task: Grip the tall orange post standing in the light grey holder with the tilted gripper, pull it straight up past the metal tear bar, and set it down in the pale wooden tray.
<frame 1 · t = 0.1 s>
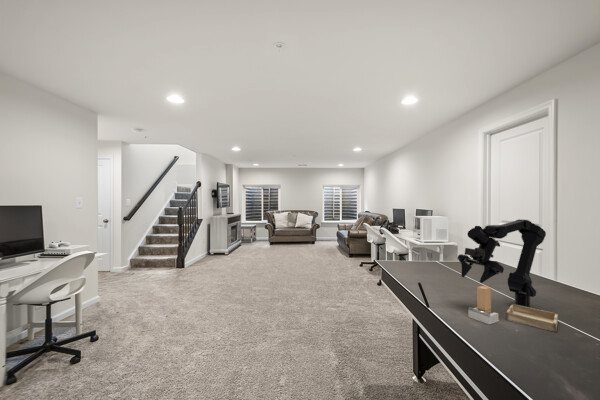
hand: (471, 279, 118), 15 cm above the table, tool tilted 35°, fingers open, 9 cm apart
dispenser: (484, 319, 111), on the table
tray: (531, 321, 110), on the table
orange post: (484, 318, 111), resting on dispenser
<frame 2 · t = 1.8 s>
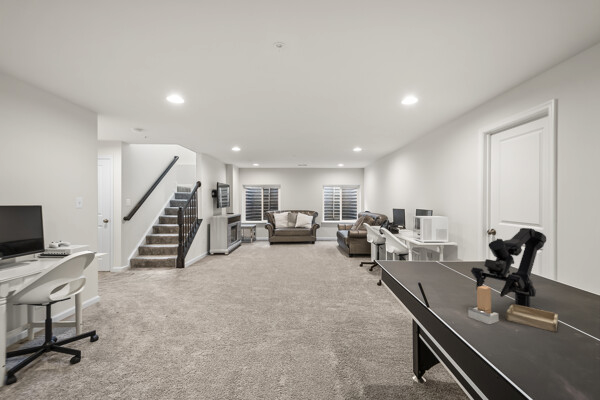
hand: (488, 292, 113), 11 cm above the table, tool tilted 45°, fingers open, 9 cm apart
nothing on the table moved.
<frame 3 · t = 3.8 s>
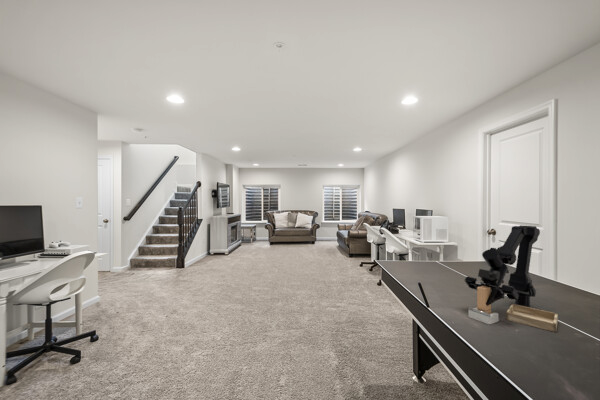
hand: (482, 303, 110), 7 cm above the table, tool tilted 45°, fingers closed on orange post, 3 cm apart
orange post: (484, 318, 111), resting on dispenser, touching gripper
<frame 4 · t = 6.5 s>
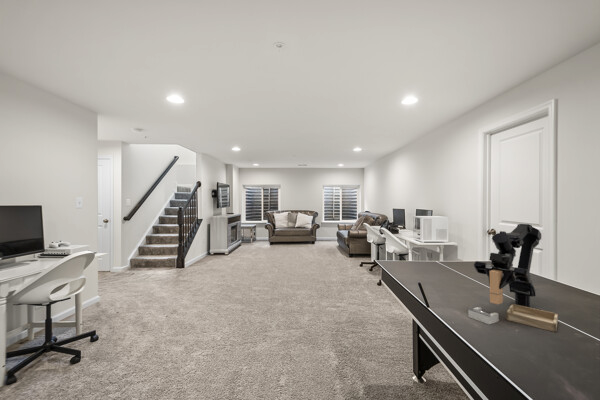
hand: (494, 287, 109), 14 cm above the table, tool tilted 45°, fingers closed on orange post, 3 cm apart
orange post: (496, 302, 110), point 8 cm above the table, touching gripper
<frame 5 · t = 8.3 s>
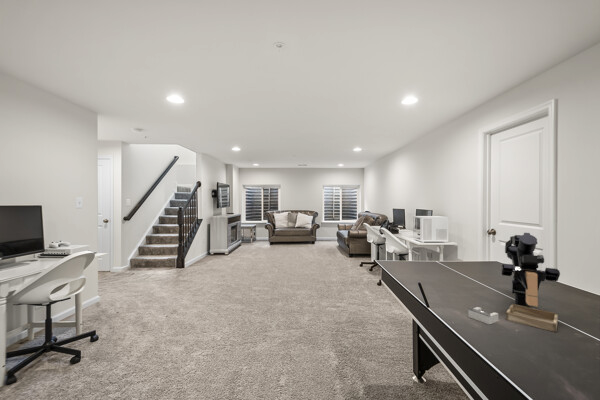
hand: (532, 289, 109), 13 cm above the table, tool tilted 45°, fingers closed on orange post, 3 cm apart
orange post: (531, 304, 110), point 7 cm above the table, touching gripper
when the fingers open (8 cm above the table, at t = 9.6 s): orange post drops 1 cm, resting on tray.
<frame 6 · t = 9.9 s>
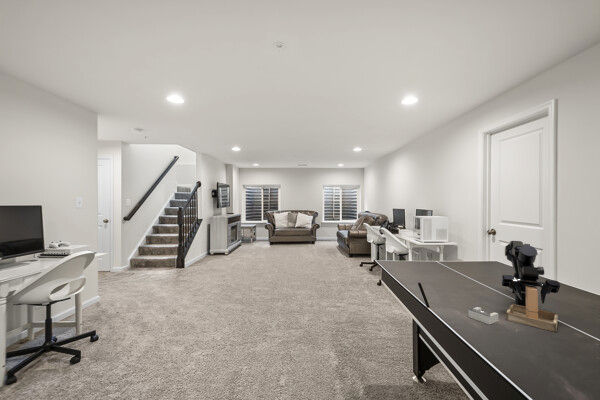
hand: (532, 301, 109), 8 cm above the table, tool tilted 45°, fingers open, 6 cm apart
orange post: (531, 319, 110), point 1 cm above the table, touching tray
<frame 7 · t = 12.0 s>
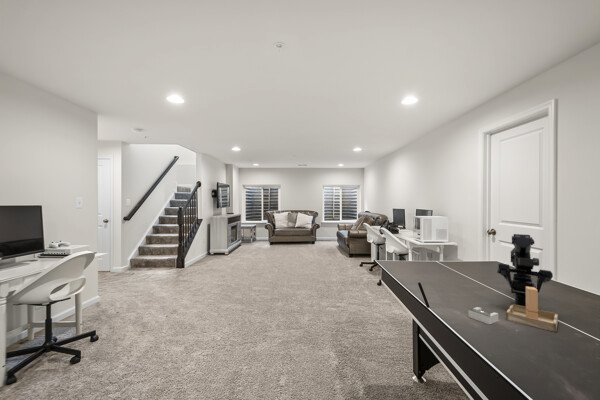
hand: (524, 290, 116), 11 cm above the table, tool tilted 35°, fingers open, 9 cm apart
nothing on the table moved.
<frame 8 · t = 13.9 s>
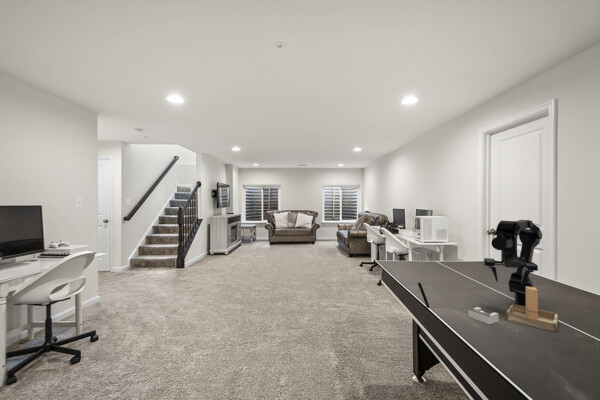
hand: (509, 283, 119), 13 cm above the table, tool pointing down, fingers open, 9 cm apart
nothing on the table moved.
at the end: orange post inside the target area on the tray (0.0 cm from its centre), point 0.6 cm above the tray's base; the gripper is holding nothing; orange post moved 19.1 cm from its start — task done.
